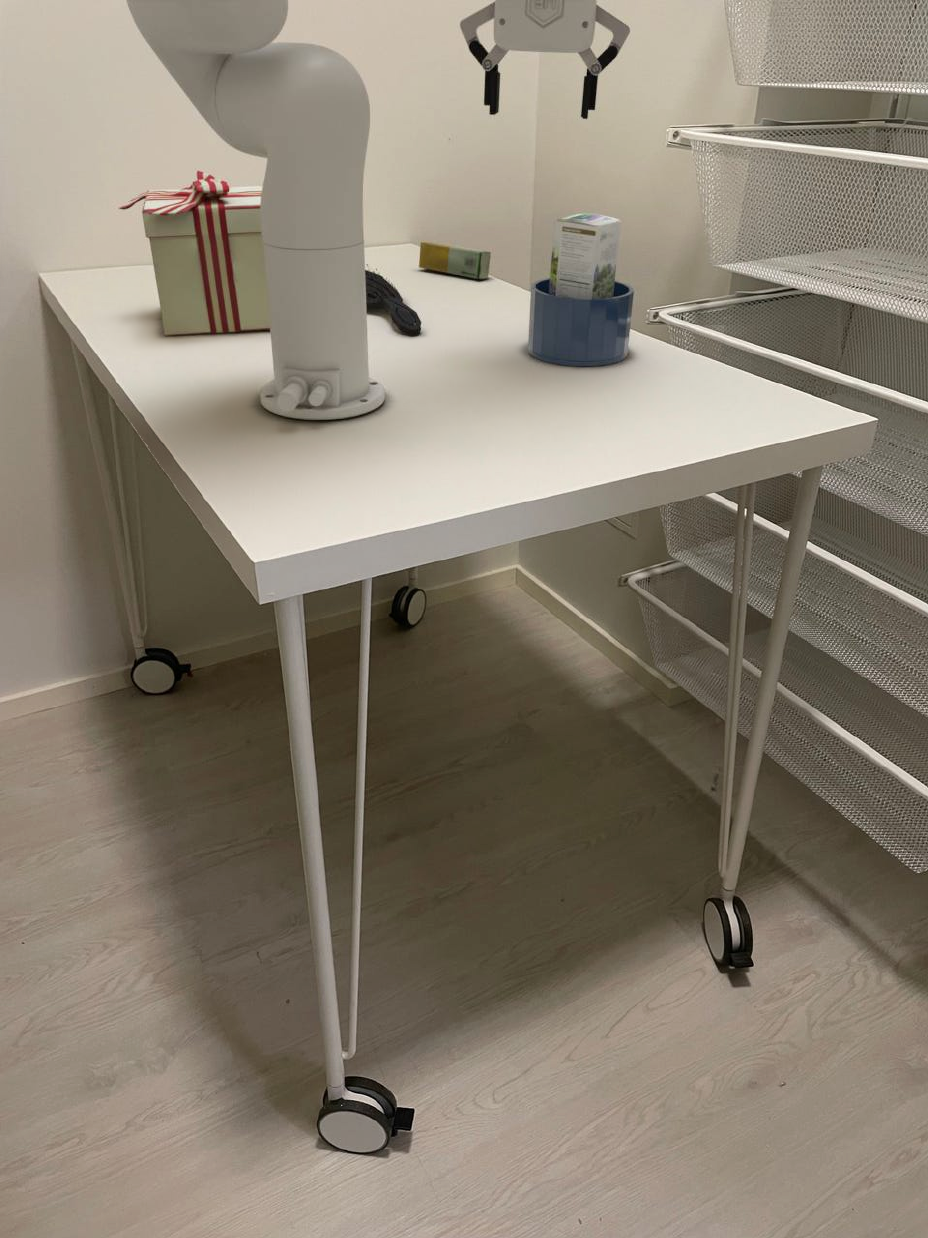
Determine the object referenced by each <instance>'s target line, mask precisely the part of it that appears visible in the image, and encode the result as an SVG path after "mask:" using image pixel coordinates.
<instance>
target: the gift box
mask: <svg viewBox="0 0 928 1238" xmlns="http://www.w3.org/2000/svg"><path fill="white" fill-rule="evenodd" d="M196 179H197V180H194V181H192V184H190V185H189V186H187V187H184V188H171V189H148V190H147V191H146V192H143V193H141V194H139V195H138V196H135V197H133V198H132V199H131V200H129V201H127V202H126V203H125V204H124V205H122V206H120V207H118V209H119V210H128V209H131V208H132V207H133V206H134V205H136V203H138V202H140V201H142V200H144V202H143V206H142V211H141V214H142V221H143V227H144V228H143V229H144V233H145V234H144V235H145V238H147V239H148V240H149V245H150V252H151V258H152V264H153V270H154V276H155V277H154V278H155V284H156V288H157V294H158V301H159V306H160V313H161V320H162V326H163V330H164V332H163V333H164V336H165V337H171V336H184V335H185V336H187V335H199V334H200V335H202V334H219V333H220V334H221V333H233V332H235V333H236V332H237V333H238V332H246V331H265V330H266V331H267V330H268V331H269V330H270V322H269V310H268V299H267V287H266V276H265V264H264V253H263V242H262V234H261V220H260V204H261V194H262V187H263V185H249V186H248V185H246V186H230V185H229V184H228V182H227V181H225V180H222V179H219V178H217V177H215V176H213V175H212V174H210V173H207V172H204V171H200V170H197V171H196Z"/></svg>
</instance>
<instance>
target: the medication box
mask: <svg viewBox="0 0 928 1238" xmlns="http://www.w3.org/2000/svg"><path fill="white" fill-rule="evenodd" d="M491 254H492V252H491V251H487V250H481V249H476V248H469V247H464V246H459V245H452V244H446V243H440V242H435V241H420V247H419V259H418V260H419V262H418V268H421V269H426V270H431V271H436V272H442V273H446V274H450V275H455V276H461V277H466V278H471V279H476V280H478V281H480V280H489V273H490V266H491V265H490V263H491Z"/></svg>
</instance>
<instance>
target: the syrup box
mask: <svg viewBox="0 0 928 1238" xmlns="http://www.w3.org/2000/svg"><path fill="white" fill-rule="evenodd" d="M621 225H622V221H621V219H618V218H615V217H612V216H608V215H603V214H596V213H577V214H573V215H569V216H565V217H561V218H557V219H555V220H554V222H553V232H552V245H551V258H550V259H551V260H550V270H549V278H550V283H549V294H550V295H555V296H560V297H568V298H581V299H599V298H611V297H613V291H614V283H615V281H616V274H617V273H616V271H617V262H618V254H619V245H620V236H621V235H620V233H621Z"/></svg>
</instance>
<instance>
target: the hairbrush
mask: <svg viewBox="0 0 928 1238" xmlns="http://www.w3.org/2000/svg"><path fill="white" fill-rule="evenodd" d="M366 266H367V268H368V270H367V269H365V282H366V310H367V311H368V310H379V309H380V310H382V309H386V311H388V312H389V315H390V319H391V321H392V324H394V326H395V327H396V328H397V329H398V330H399V331H400V333H403V334H405V335H407V336H410V337H415V336H419V334H420V332H421V331H422V320H421V318H420V316H419V315H418V313H417V312H416V311H415V310H414V309H412V308H411V306H409V305H407V304H406V303H404V300H403V297H402V295H401V293H400V292H399V290H398V289H397V288H396V286H395V285H393V283H392V282H390V280H388V278H387V277H386V278H384V276H382V275H381V274H380V272H379V271H377V270H378V269H377V268H375V271H377V273H376V272H375V271H374V270H372V271H371V270H370V269H371V268H369V264H368V263H367V264H366Z"/></svg>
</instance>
